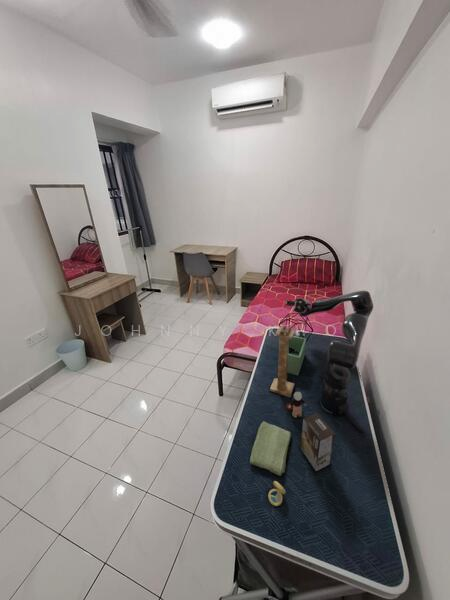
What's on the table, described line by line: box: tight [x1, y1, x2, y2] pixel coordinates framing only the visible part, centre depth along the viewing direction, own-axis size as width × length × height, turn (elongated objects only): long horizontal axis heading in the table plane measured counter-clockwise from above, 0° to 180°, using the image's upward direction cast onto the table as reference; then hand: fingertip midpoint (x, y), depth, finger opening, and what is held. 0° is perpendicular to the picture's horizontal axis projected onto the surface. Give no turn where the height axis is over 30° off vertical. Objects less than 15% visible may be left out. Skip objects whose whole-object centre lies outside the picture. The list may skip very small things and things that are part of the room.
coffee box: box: [300, 412, 336, 472], centre depth 84 cm, size 9×6×16 cm
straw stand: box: [269, 324, 296, 398], centre depth 110 cm, size 10×8×35 cm
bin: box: [287, 335, 307, 376], centre depth 131 cm, size 11×18×12 cm, turn 153°
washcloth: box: [249, 421, 292, 477], centre depth 90 cm, size 13×18×3 cm
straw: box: [288, 302, 296, 316], centre depth 113 cm, size 1×13×1 cm, turn 153°
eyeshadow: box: [267, 480, 287, 507], centre depth 76 cm, size 4×5×5 cm
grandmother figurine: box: [288, 391, 307, 418], centre depth 101 cm, size 8×4×13 cm, turn 109°
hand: (294, 303), depth 114 cm, fingers closed on straw, 1 cm apart
